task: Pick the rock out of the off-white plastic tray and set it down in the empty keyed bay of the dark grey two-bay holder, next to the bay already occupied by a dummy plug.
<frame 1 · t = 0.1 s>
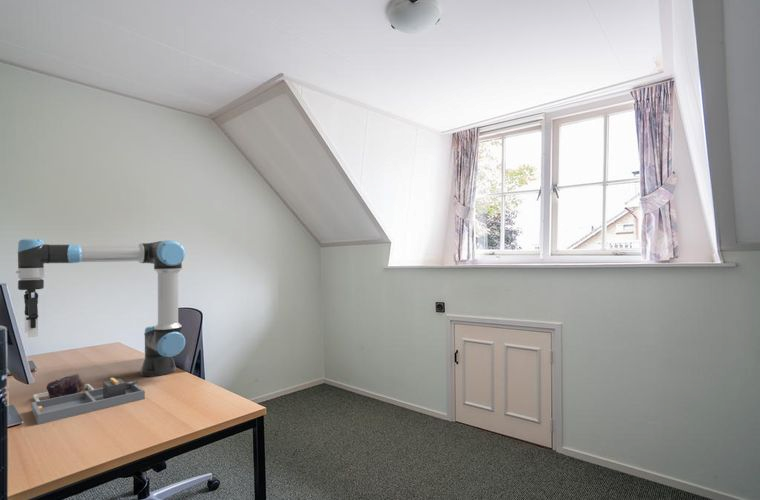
hand: (31, 334, 156), 28 cm above the table, fingers open, 13 cm apart
holder: (90, 404, 157), on the table
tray: (65, 397, 166), on the table
rock: (65, 397, 166), on the table
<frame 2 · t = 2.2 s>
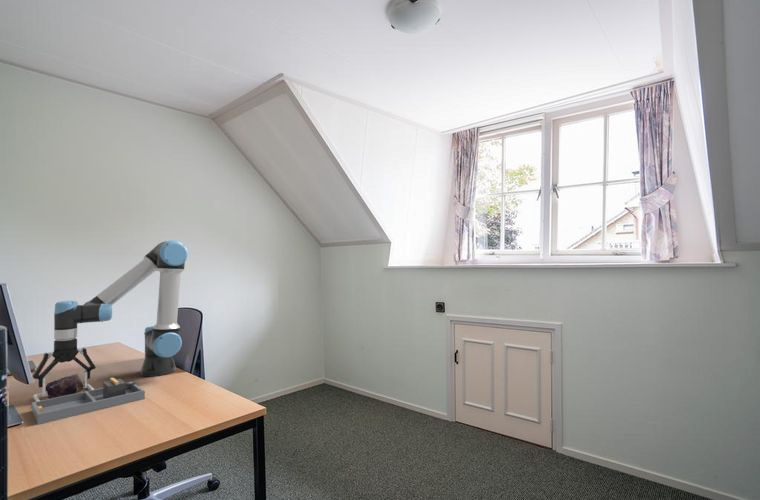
hand: (65, 391, 165), 3 cm above the table, fingers open, 13 cm apart
nothing on the table moved.
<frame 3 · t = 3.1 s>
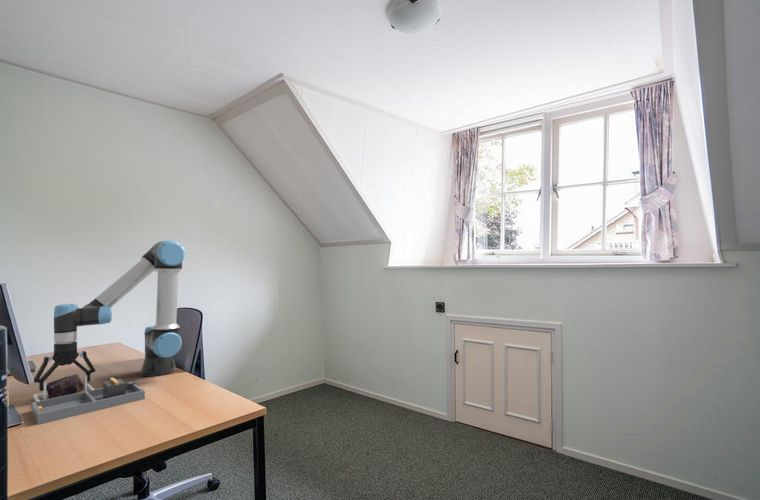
hand: (65, 394, 165), 1 cm above the table, fingers closed on rock, 13 cm apart
rock: (65, 397, 165), on the table, touching gripper
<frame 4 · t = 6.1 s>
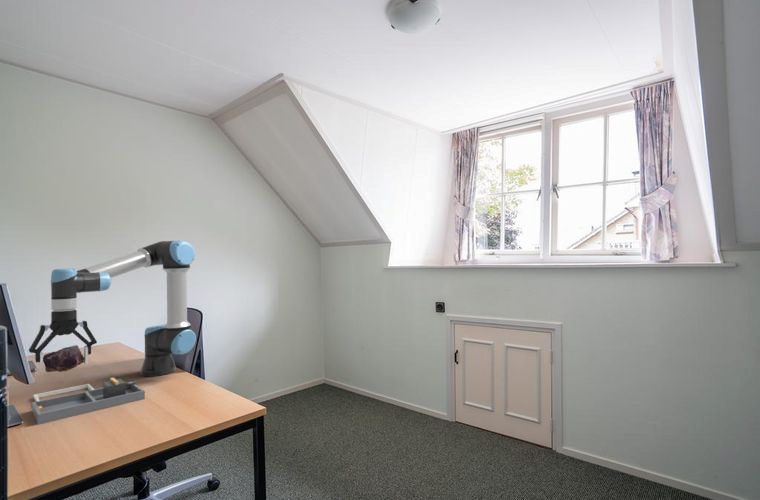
hand: (64, 367, 151), 16 cm above the table, fingers closed on rock, 13 cm apart
rock: (64, 370, 151), point 15 cm above the table, touching gripper
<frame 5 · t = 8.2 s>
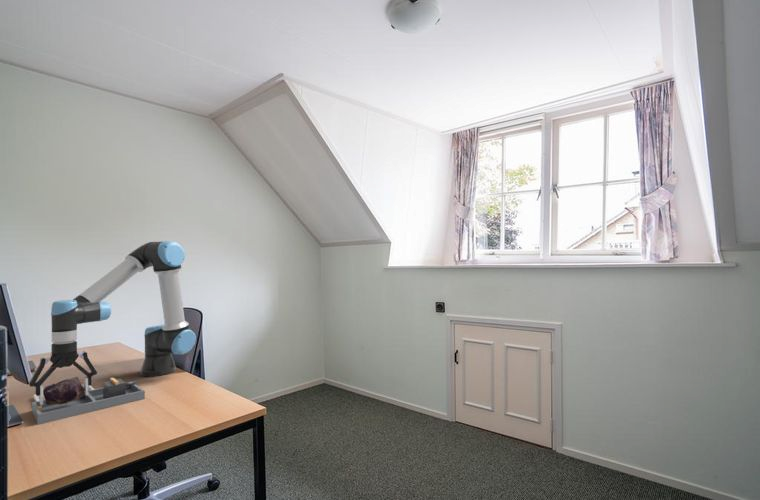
hand: (64, 399, 151), 4 cm above the table, fingers closed on rock, 13 cm apart
rock: (64, 403, 151), point 3 cm above the table, touching gripper
when the fingers open (4 cm above the table, at t = 9.4 s): rock drops 2 cm, resting on holder.
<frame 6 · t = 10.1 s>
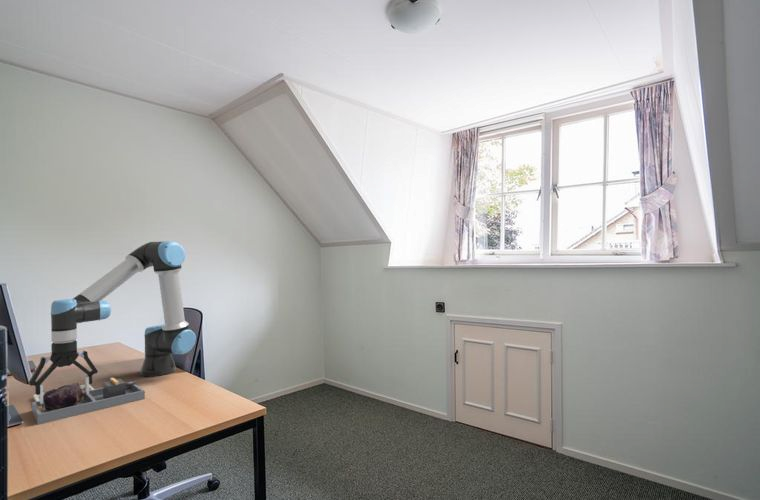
hand: (64, 397, 151), 5 cm above the table, fingers open, 13 cm apart
rock: (63, 408, 151), point 1 cm above the table, touching gripper, holder
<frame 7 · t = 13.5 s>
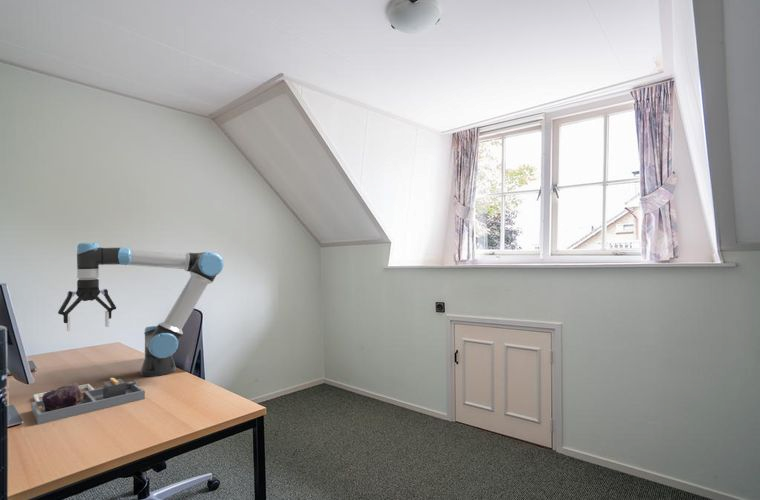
hand: (88, 328, 173), 27 cm above the table, fingers open, 13 cm apart
rock: (63, 409, 151), point 1 cm above the table, touching holder
at the end: rock inside the target area on the holder (0.3 cm from its centre), point 0.6 cm above the holder's base; the gripper is holding nothing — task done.
